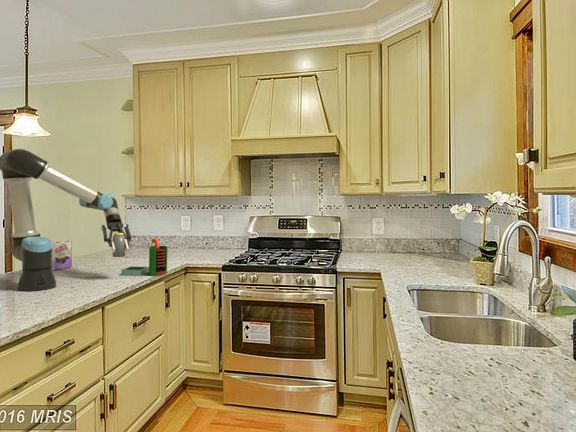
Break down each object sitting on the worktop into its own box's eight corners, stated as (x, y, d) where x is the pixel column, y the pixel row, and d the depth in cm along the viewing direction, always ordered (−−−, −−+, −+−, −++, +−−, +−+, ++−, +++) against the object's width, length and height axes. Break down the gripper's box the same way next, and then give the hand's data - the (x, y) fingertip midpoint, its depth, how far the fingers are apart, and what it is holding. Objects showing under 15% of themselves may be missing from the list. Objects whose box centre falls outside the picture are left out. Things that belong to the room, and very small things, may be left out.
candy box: (51, 271, 219) (50, 242, 218) (43, 270, 221) (43, 242, 220) (72, 267, 232) (72, 240, 231) (65, 266, 234) (64, 239, 233)
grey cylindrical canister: (121, 257, 199) (121, 233, 199) (110, 256, 200) (110, 233, 199) (127, 255, 205) (127, 232, 205) (116, 255, 206) (116, 232, 205)
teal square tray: (142, 276, 211) (142, 270, 211) (121, 275, 211) (121, 269, 211) (150, 272, 222) (150, 266, 222) (130, 271, 222) (130, 266, 222)
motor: (159, 276, 210) (160, 240, 209) (145, 275, 212) (145, 239, 211) (169, 273, 220) (169, 238, 219) (155, 272, 222) (155, 238, 221)
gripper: (129, 221, 220) (137, 253, 208) (93, 222, 208) (99, 256, 196) (132, 213, 215) (141, 245, 203) (95, 213, 204) (102, 247, 192)
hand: (120, 250), depth 200 cm, fingers closed on grey cylindrical canister, 6 cm apart
